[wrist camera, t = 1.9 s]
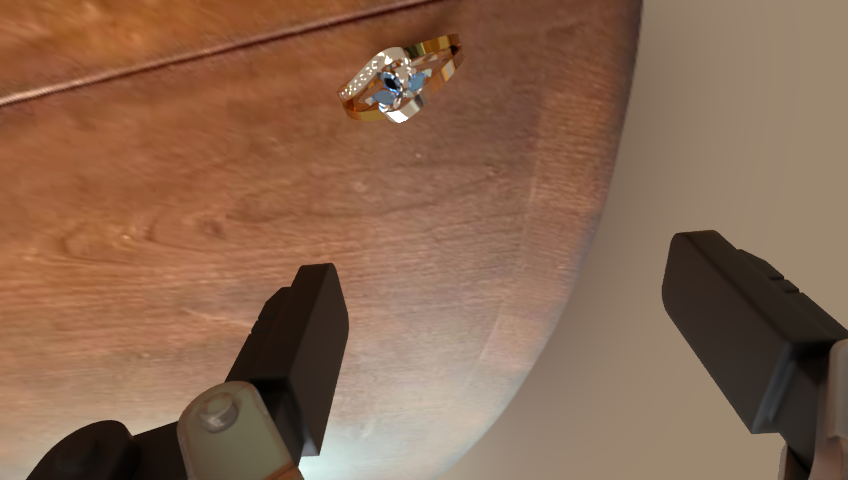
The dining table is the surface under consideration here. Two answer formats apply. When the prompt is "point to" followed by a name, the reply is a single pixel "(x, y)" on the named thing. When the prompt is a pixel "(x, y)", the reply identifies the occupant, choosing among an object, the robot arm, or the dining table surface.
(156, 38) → the dining table surface
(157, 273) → the dining table surface
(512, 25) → the dining table surface
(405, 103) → the ring
